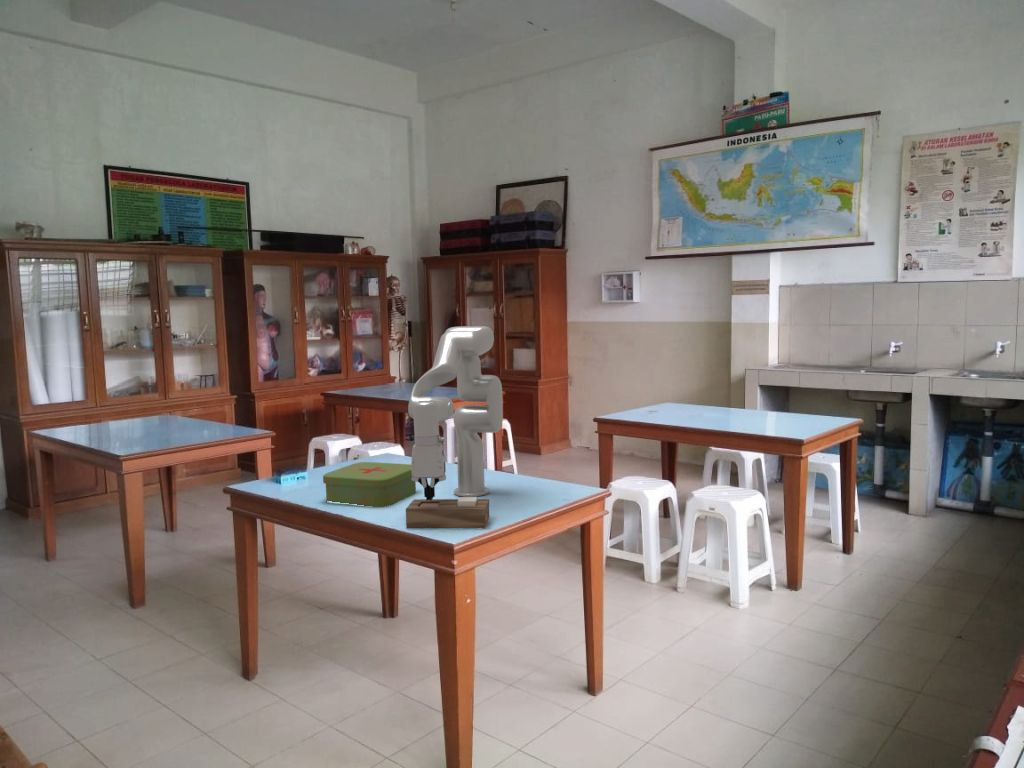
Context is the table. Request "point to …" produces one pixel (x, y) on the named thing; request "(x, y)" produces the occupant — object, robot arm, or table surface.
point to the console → (447, 514)
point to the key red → (429, 505)
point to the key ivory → (467, 501)
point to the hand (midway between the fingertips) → (429, 499)
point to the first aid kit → (370, 484)
